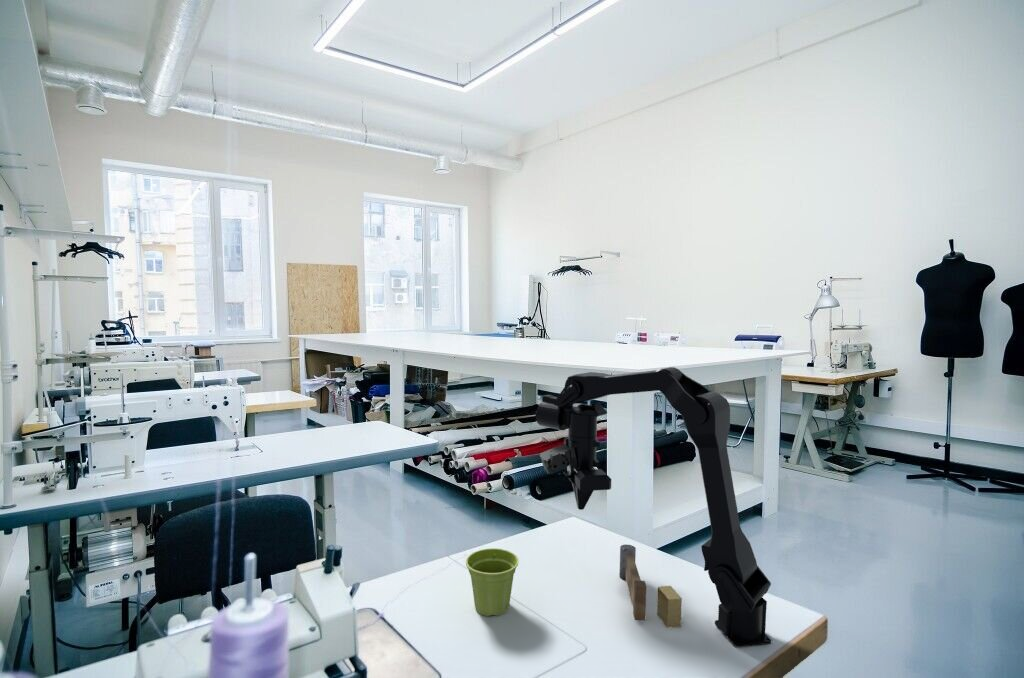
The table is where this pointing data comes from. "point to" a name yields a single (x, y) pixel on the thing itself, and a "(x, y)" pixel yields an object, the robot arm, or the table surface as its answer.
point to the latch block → (669, 606)
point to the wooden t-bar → (636, 588)
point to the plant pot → (492, 579)
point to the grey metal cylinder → (623, 551)
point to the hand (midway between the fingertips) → (580, 508)
